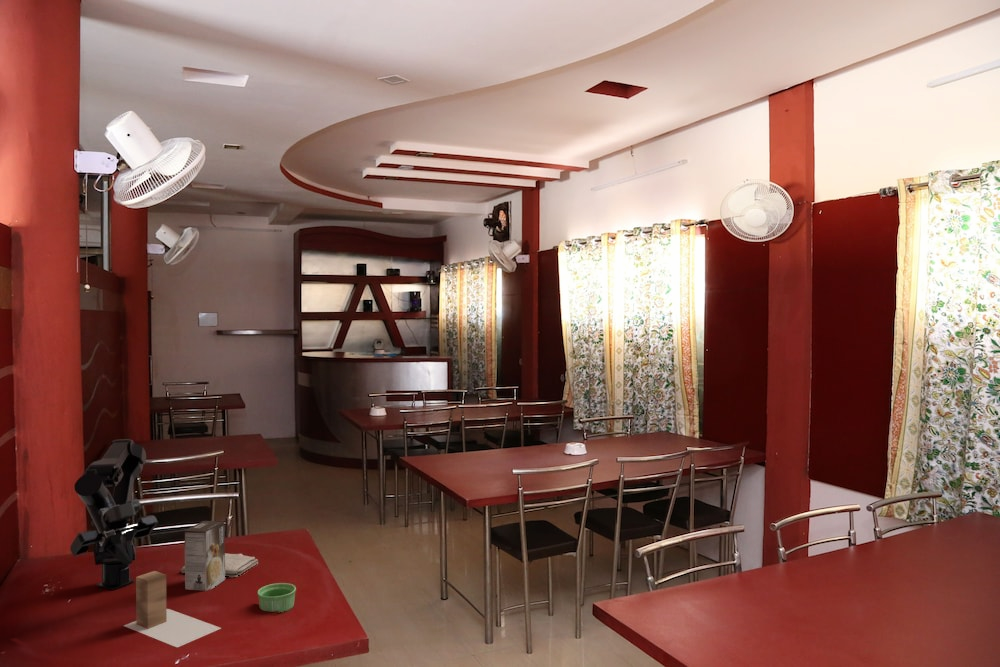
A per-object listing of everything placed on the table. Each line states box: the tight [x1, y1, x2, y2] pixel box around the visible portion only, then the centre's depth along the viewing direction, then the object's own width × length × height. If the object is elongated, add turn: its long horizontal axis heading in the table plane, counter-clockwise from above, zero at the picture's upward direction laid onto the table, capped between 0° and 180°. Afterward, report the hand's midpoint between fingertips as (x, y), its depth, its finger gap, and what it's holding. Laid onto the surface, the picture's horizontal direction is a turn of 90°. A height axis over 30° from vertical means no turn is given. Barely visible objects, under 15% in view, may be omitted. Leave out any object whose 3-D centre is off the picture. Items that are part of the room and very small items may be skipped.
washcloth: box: [180, 552, 259, 578], centre depth 199 cm, size 12×18×3 cm, turn 80°
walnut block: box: [135, 570, 167, 629], centre depth 162 cm, size 4×4×11 cm
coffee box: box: [183, 520, 226, 592], centre depth 186 cm, size 9×6×16 cm
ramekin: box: [257, 582, 297, 614], centre depth 173 cm, size 9×9×4 cm
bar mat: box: [123, 608, 222, 648], centre depth 160 cm, size 20×11×1 cm, turn 58°
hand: (130, 563), depth 166 cm, fingers closed
